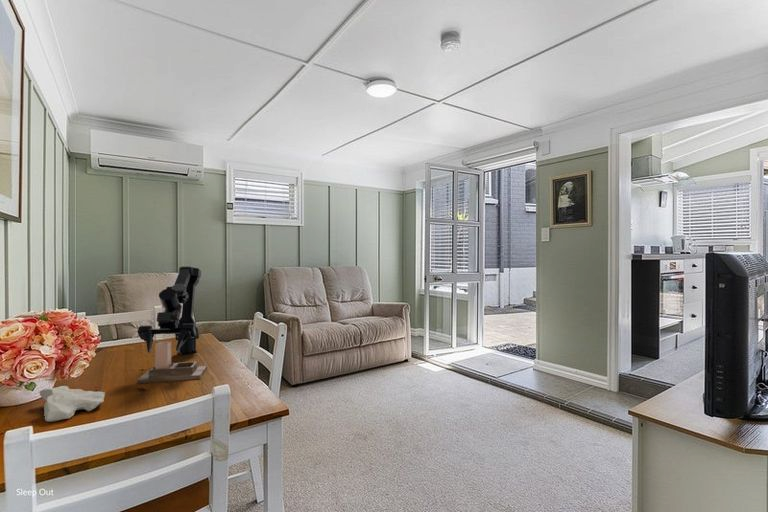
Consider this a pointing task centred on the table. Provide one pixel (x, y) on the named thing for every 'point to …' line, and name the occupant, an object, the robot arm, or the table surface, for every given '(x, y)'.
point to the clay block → (163, 355)
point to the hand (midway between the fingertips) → (162, 351)
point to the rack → (173, 373)
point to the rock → (68, 402)
